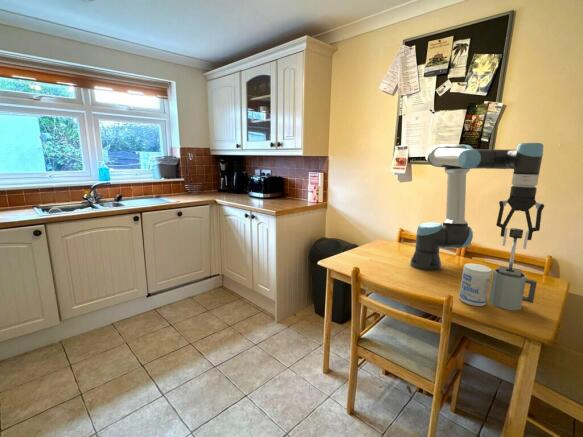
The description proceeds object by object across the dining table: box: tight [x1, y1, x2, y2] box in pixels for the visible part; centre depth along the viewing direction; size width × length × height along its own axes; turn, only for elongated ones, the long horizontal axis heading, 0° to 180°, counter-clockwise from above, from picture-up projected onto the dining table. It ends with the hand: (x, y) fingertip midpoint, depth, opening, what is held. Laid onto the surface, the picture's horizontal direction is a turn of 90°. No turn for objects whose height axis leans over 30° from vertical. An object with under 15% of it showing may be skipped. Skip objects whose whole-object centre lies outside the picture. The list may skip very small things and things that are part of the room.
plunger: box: [505, 227, 524, 277], centre depth 114 cm, size 8×8×20 cm
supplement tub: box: [458, 262, 493, 307], centre depth 119 cm, size 10×10×15 cm
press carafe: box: [488, 265, 538, 311], centre depth 116 cm, size 14×10×14 cm
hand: (514, 246), depth 114 cm, fingers open, 6 cm apart
